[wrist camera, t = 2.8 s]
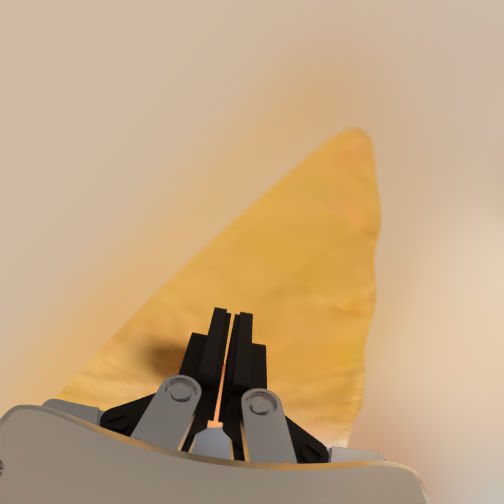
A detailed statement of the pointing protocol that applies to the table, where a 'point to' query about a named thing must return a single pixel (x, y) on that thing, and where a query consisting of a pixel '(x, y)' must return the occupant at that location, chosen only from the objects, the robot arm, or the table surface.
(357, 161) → the table surface
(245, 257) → the table surface
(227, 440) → the disc
